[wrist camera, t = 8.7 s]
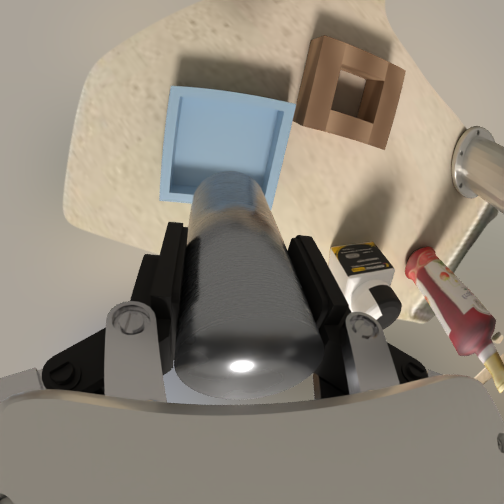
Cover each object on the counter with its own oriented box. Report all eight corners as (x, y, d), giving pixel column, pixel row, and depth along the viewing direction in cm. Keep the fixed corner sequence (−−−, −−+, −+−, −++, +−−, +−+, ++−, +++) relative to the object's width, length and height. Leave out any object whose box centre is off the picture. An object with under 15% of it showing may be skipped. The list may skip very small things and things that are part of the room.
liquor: (393, 273, 43) (478, 410, 20) (414, 237, 39) (519, 372, 16) (418, 278, 45) (497, 398, 22) (438, 246, 41) (532, 363, 18)
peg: (271, 176, 14) (347, 318, 6) (256, 239, 17) (297, 396, 8) (196, 166, 14) (173, 312, 5) (189, 233, 16) (176, 397, 8)
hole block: (386, 69, 25) (405, 70, 21) (367, 141, 30) (384, 150, 27) (310, 40, 23) (324, 35, 19) (292, 120, 28) (302, 126, 25)
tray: (287, 102, 27) (296, 104, 24) (265, 199, 33) (270, 212, 30) (176, 85, 24) (171, 85, 21) (164, 188, 31) (159, 200, 28)
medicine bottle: (373, 240, 39) (414, 293, 29) (365, 277, 43) (398, 331, 33) (329, 246, 38) (365, 305, 28) (325, 284, 42) (352, 344, 32)
